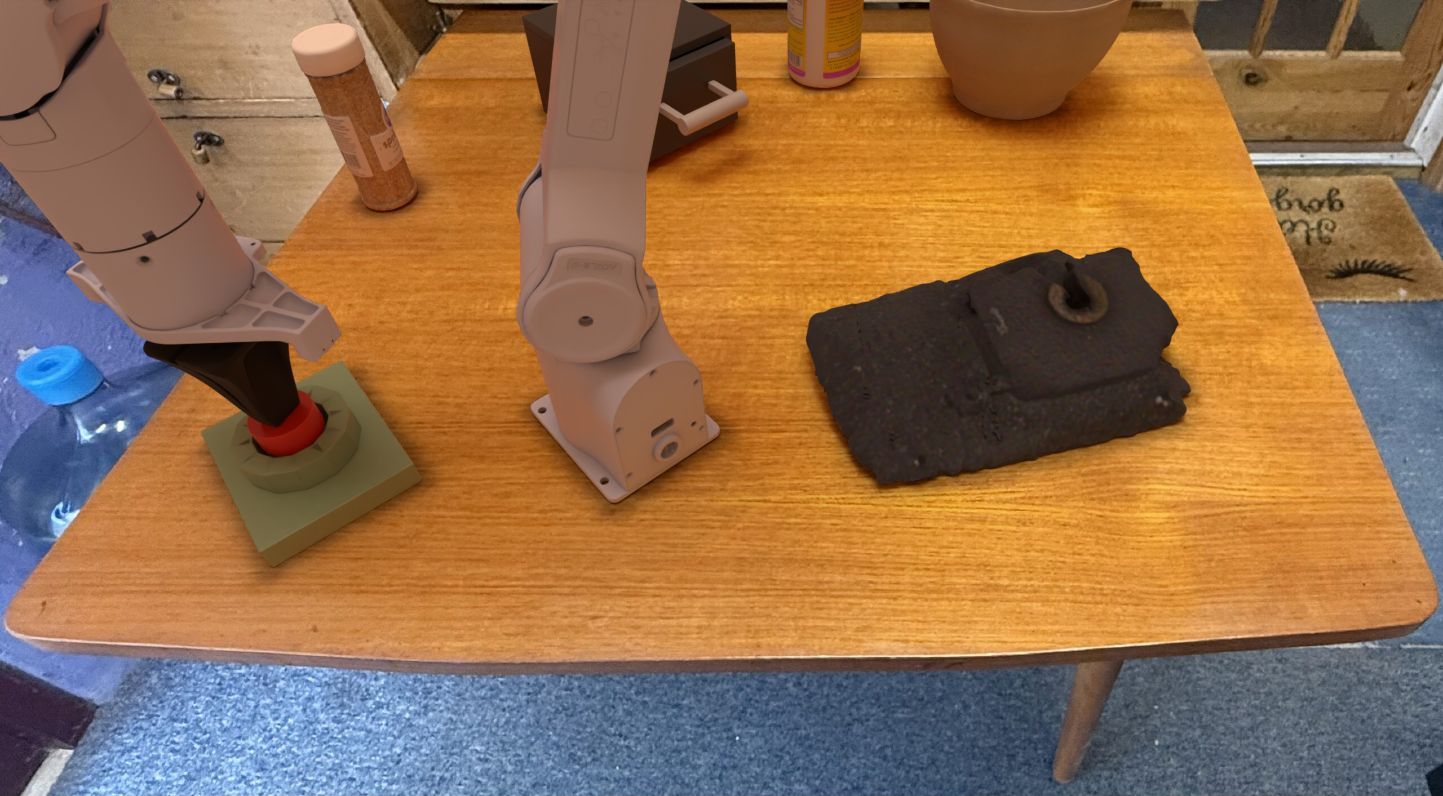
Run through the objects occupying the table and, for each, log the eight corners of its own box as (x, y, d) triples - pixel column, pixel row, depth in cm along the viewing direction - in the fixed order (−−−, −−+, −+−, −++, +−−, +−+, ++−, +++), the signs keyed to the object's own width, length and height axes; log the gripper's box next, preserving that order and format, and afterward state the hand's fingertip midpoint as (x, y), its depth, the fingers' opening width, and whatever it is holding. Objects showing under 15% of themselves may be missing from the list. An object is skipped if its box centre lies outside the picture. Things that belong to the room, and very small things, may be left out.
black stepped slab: (782, 321, 56) (782, 267, 52) (1079, 256, 59) (1098, 200, 55) (863, 503, 46) (870, 452, 43) (1216, 414, 49) (1251, 359, 45)
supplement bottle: (868, 61, 78) (880, -87, 69) (846, 96, 75) (855, -56, 65) (801, 51, 80) (804, -95, 71) (776, 84, 77) (775, -65, 67)
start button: (335, 434, 48) (322, 415, 46) (273, 467, 46) (258, 448, 45) (312, 399, 49) (299, 379, 48) (252, 430, 48) (237, 410, 47)
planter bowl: (1084, 49, 78) (1120, -77, 69) (1120, 145, 67) (1167, 10, 59) (910, 50, 79) (925, -73, 71) (918, 143, 69) (936, 12, 61)
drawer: (770, 139, 69) (769, 60, 64) (670, 190, 65) (660, 110, 60) (654, 68, 78) (645, -6, 73) (560, 108, 74) (543, 34, 69)
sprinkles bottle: (426, 199, 68) (364, 37, 57) (372, 220, 66) (298, 58, 56) (408, 173, 70) (344, 14, 60) (355, 193, 69) (281, 33, 59)
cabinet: (735, 121, 73) (731, 24, 66) (627, 173, 68) (610, 75, 62) (646, 66, 80) (634, -26, 74) (543, 110, 76) (521, 16, 69)
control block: (423, 480, 49) (402, 444, 46) (273, 568, 45) (241, 534, 43) (351, 377, 55) (329, 339, 52) (214, 448, 51) (183, 412, 49)
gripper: (328, 186, 37) (428, 390, 47) (89, 138, 40) (230, 335, 51) (213, 289, 32) (351, 488, 43) (-41, 224, 36) (141, 420, 47)
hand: (279, 411), depth 46 cm, fingers closed
